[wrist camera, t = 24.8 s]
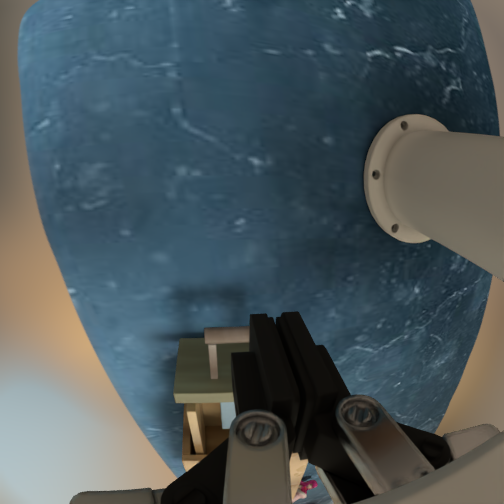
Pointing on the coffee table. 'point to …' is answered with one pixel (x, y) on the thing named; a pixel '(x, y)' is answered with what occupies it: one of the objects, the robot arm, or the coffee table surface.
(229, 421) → the block
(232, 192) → the coffee table surface
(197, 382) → the drawer
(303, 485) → the figurine
